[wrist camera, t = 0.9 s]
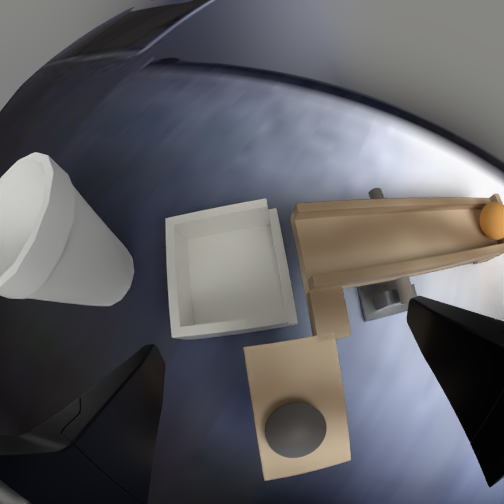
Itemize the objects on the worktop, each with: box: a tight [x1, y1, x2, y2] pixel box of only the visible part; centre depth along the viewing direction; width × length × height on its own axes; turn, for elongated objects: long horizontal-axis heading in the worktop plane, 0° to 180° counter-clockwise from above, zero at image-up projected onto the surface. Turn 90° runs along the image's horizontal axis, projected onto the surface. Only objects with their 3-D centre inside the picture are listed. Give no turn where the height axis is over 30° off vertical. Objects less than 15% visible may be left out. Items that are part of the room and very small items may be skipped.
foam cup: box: [0, 152, 134, 306], centre depth 18 cm, size 10×9×13 cm
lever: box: [243, 188, 504, 480], centre depth 16 cm, size 17×24×4 cm
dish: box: [166, 199, 298, 340], centre depth 21 cm, size 9×9×4 cm
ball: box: [480, 202, 504, 240], centre depth 17 cm, size 3×3×3 cm
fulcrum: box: [358, 198, 417, 322], centre depth 20 cm, size 9×4×3 cm, turn 8°
